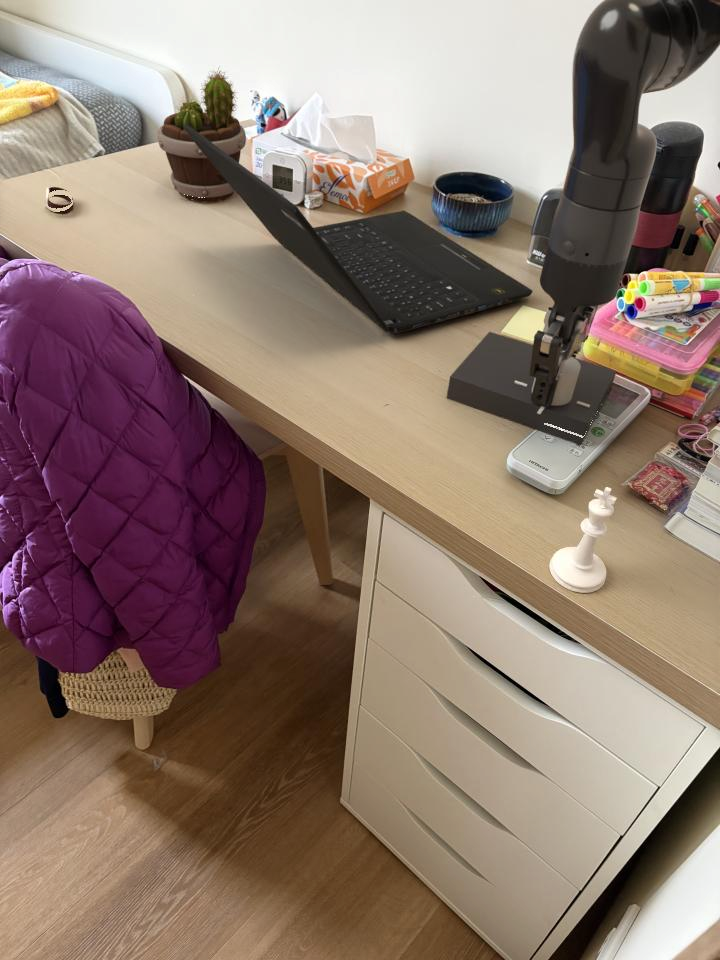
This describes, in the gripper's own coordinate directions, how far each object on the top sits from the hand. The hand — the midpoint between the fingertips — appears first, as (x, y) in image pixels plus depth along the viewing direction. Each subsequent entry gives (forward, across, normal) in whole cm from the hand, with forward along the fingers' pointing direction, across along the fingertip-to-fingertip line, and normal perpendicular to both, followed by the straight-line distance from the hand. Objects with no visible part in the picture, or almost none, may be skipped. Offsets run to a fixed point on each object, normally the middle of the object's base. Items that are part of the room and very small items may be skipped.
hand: (549, 391), depth 79 cm
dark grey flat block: (+3, +3, +3) cm, 5 cm away
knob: (0, 0, 0) cm, 0 cm away
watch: (+4, +7, +88) cm, 88 cm away
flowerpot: (+4, +27, +74) cm, 79 cm away
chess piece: (+3, -20, -11) cm, 24 cm away
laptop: (+4, +15, +34) cm, 38 cm away
